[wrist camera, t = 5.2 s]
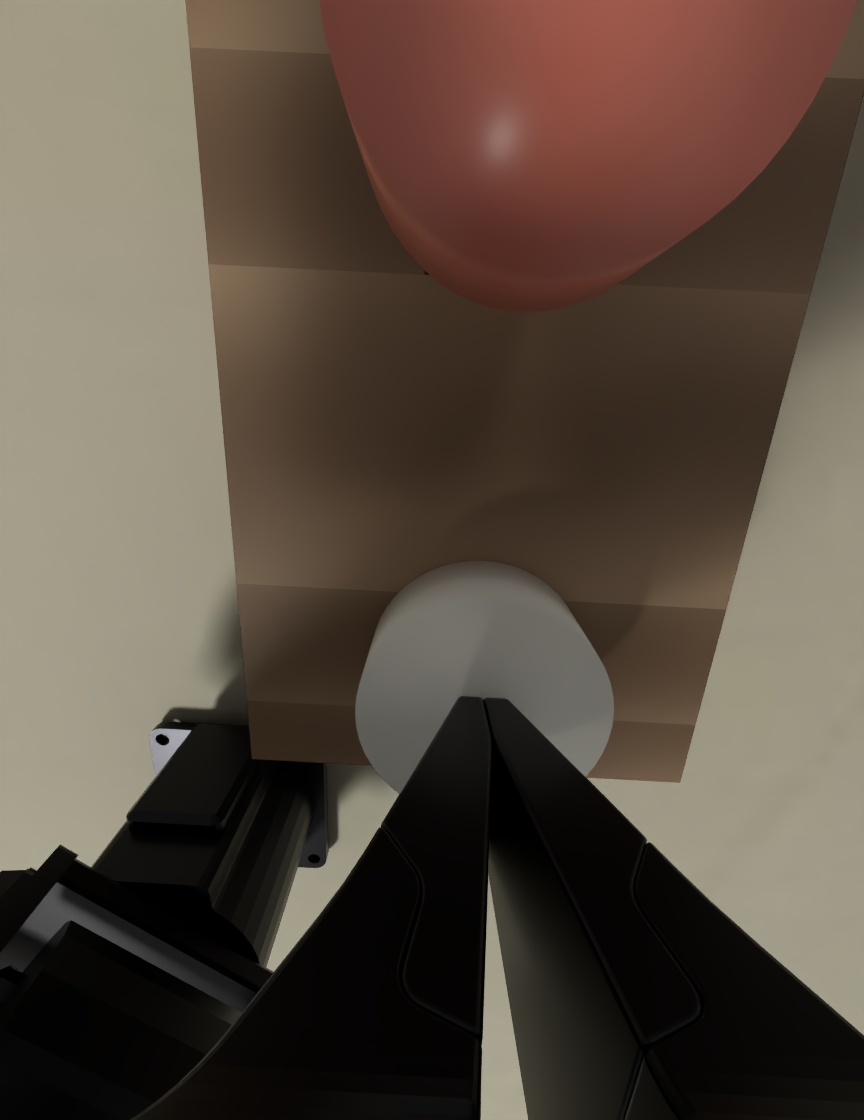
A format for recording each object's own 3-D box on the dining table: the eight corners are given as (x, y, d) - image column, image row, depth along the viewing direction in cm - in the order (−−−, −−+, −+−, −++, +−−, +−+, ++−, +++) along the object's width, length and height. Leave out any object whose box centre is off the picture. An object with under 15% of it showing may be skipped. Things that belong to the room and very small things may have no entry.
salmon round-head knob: (572, 360, 12) (786, 282, 4) (396, 351, 12) (321, 260, 4) (600, 144, 10) (980, -484, 3) (402, 135, 10) (303, -514, 3)
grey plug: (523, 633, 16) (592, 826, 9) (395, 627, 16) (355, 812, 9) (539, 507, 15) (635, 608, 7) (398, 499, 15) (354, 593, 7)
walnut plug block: (598, 653, 17) (680, 783, 11) (317, 638, 17) (252, 758, 11) (780, -360, 9) (1298, -1534, 4) (285, -380, 9) (48, -1567, 4)
